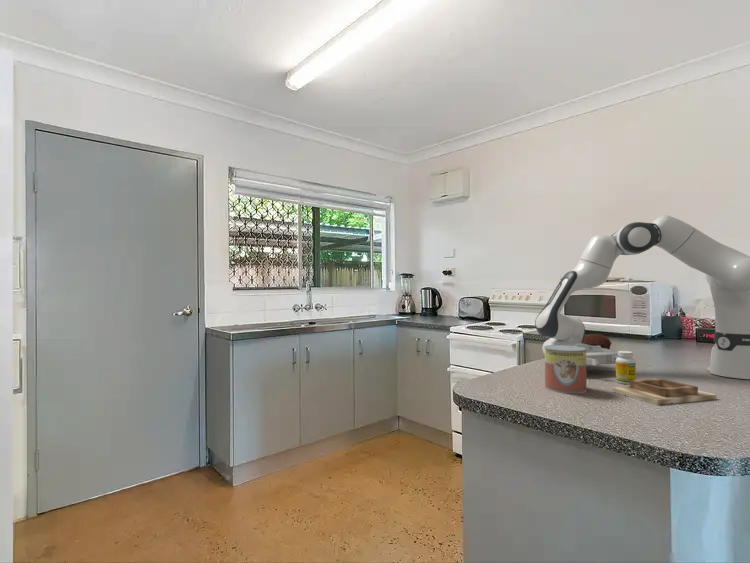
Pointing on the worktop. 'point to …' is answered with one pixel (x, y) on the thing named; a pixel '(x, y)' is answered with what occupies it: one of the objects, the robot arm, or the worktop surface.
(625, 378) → the supplement bottle
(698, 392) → the wooden tray
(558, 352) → the canned food
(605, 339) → the muffin
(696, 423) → the worktop surface
